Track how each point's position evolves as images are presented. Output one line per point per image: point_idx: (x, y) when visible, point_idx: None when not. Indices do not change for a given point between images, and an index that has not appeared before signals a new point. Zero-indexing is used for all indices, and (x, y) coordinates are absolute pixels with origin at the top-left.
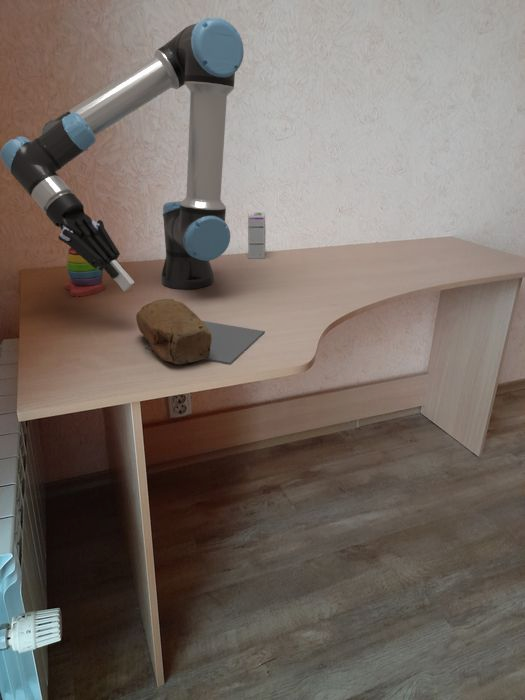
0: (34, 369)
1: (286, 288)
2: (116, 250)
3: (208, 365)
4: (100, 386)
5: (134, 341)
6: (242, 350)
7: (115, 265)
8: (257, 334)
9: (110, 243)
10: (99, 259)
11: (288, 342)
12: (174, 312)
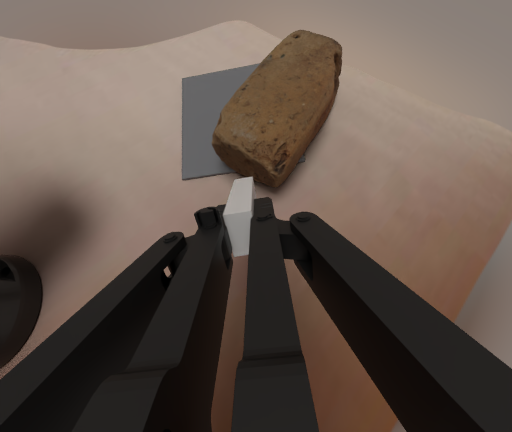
0: (475, 243)
1: (8, 142)
2: (159, 247)
3: None
4: (428, 128)
5: (294, 190)
6: (247, 67)
7: (250, 201)
8: (195, 79)
9: (135, 280)
10: (309, 216)
11: (198, 51)
12: (274, 87)
